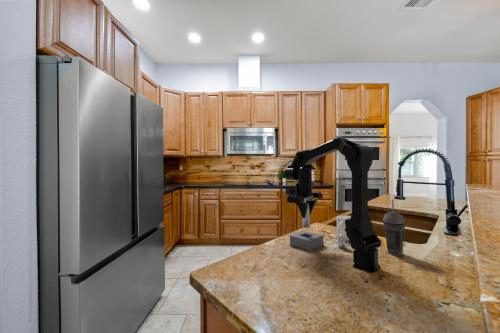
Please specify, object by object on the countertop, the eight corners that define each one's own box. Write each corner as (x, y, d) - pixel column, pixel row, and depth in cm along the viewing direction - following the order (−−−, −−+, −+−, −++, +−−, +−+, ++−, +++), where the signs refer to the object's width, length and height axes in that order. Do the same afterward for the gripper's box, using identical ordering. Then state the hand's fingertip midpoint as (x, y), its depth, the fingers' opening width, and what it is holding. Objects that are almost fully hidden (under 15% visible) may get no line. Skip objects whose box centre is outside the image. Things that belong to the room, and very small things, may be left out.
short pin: (347, 247, 93) (346, 235, 93) (343, 249, 91) (343, 236, 91) (339, 245, 95) (339, 233, 95) (336, 247, 93) (336, 235, 93)
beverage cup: (385, 255, 83) (383, 200, 83) (382, 249, 90) (380, 198, 90) (408, 258, 80) (407, 201, 81) (403, 251, 87) (402, 198, 87)
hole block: (323, 244, 97) (323, 235, 97) (310, 250, 90) (310, 240, 90) (303, 239, 104) (303, 230, 104) (289, 244, 97) (289, 235, 97)
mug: (346, 234, 111) (345, 214, 111) (363, 239, 103) (362, 218, 103) (328, 238, 105) (327, 217, 105) (344, 243, 97) (343, 221, 97)
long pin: (311, 226, 97) (310, 203, 97) (307, 228, 95) (306, 204, 95) (305, 225, 99) (304, 202, 99) (301, 226, 97) (300, 203, 97)
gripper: (301, 179, 109) (302, 211, 109) (276, 181, 97) (277, 218, 97) (322, 179, 101) (324, 214, 101) (297, 182, 89) (299, 222, 88)
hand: (306, 217), depth 97 cm, fingers closed on long pin, 3 cm apart
